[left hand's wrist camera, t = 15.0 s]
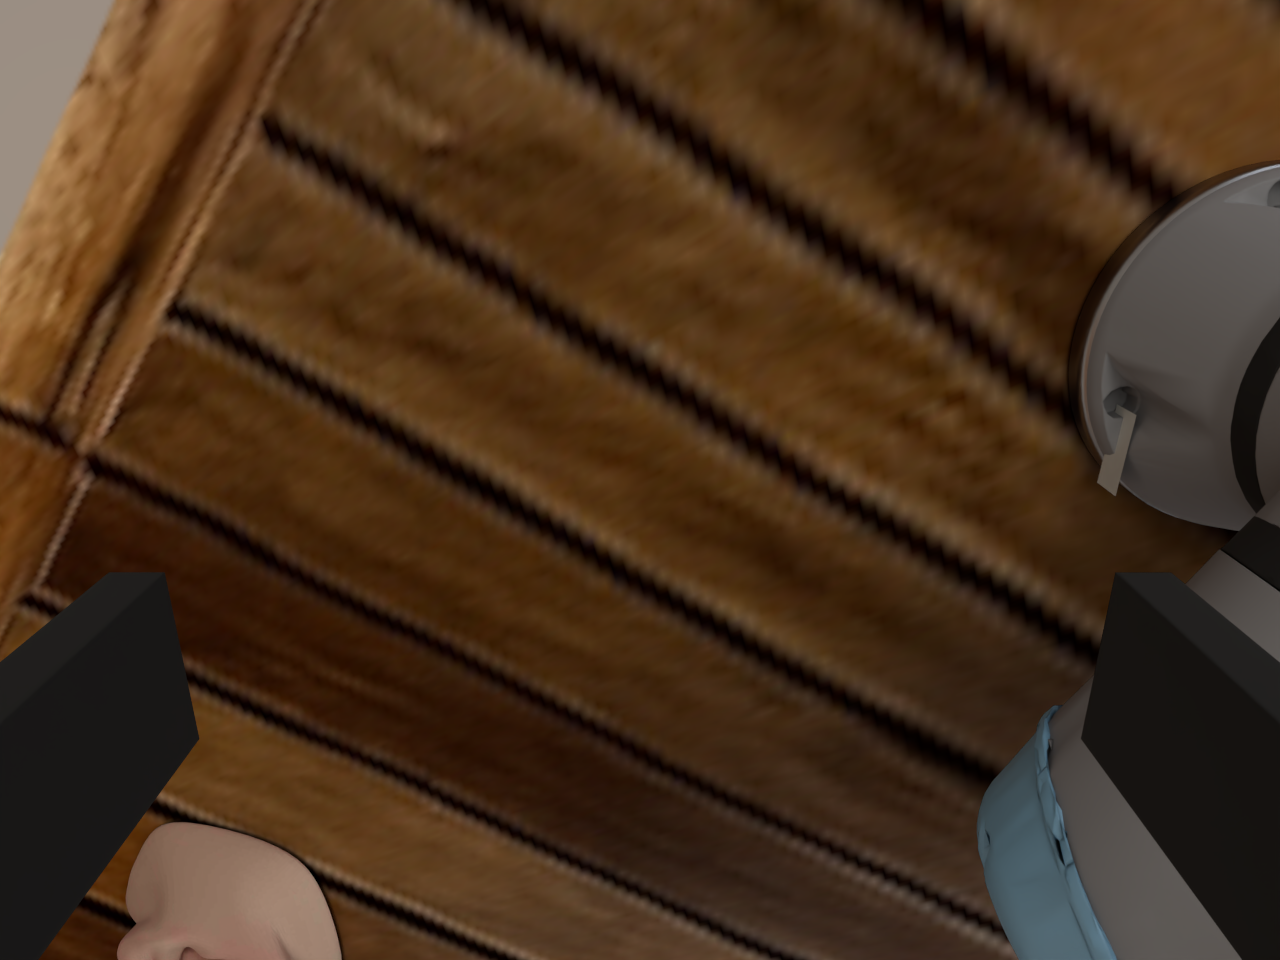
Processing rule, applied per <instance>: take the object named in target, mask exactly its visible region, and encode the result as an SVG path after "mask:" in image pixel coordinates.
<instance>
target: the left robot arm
mask: <svg viewBox="0 0 1280 960" xmlns="http://www.w3.org/2000/svg"><path fill="white" fill-rule="evenodd" d="M1068 377H1069V394H1070V401H1071V407H1072V411H1073V415H1074V419H1075V422H1076V425H1077V428H1078V430H1079V433H1080V435H1081V438H1082V439H1083V441H1084V443H1085V445H1086V447H1087V449H1088V450H1089V452H1090V453H1091V455H1092V456H1093V458H1094V459H1095V460H1096V462H1097V463H1098V464H1099V465H1100V466H1101V470H1100V474H1099V478H1098V482H1097V483H1098V484H1100V485H1101V486H1102V487H1104V488H1105V489H1106V490H1108V491H1109V492H1110V493H1112V494H1113V495H1114V496H1116V493H1117V489H1118V485H1119V484H1120V485H1121V486H1123V487H1124V488H1125V489H1127V490H1128V491H1130V492H1131V493H1132V494H1134V495H1135V496H1136V497H1138V498H1139V499H1141V500H1142V501H1144V502H1145V503H1147V504H1148V505H1150V506H1152V507H1154V508H1156V509H1158V510H1160V511H1161V512H1164V513H1166V514H1169V515H1171V516H1174V517H1177V518H1180V519H1184V520H1187V521H1190V522H1194V523H1198V524H1201V525H1207V526H1212V527H1218V528H1224V529H1230V530H1236V531H1239V532H1238V533H1237V534H1236V535H1235V536H1234V537H1233V538H1232V539H1231V540H1230V541H1229V542H1228V543H1227V544H1226V545H1225V546H1224V547H1223V548H1221V550H1218V551H1217V552H1216V553H1215V554H1214V555H1213V556H1212V557H1211V558H1210V559H1209V560H1208V561H1207V562H1206V563H1205V564H1204V565H1203V566H1202V568H1201V569H1200V570H1199V571H1198V572H1197V573H1196V574H1195V575H1194V576H1193V577H1192V578H1191V579H1190V580H1189V581H1188V582H1187V583H1186V584H1184V583H1183V582H1182V581H1181V580H1179V579H1178V578H1177V577H1176V576H1175V575H1173V574H1172V573H1115V577H1114V582H1113V587H1112V592H1111V596H1110V601H1109V606H1108V611H1107V616H1106V620H1105V625H1104V630H1103V635H1102V639H1101V644H1100V649H1099V654H1098V659H1097V663H1096V668H1095V673H1094V675H1093V676H1092V677H1091V678H1090V679H1089V680H1088V681H1087V682H1086V683H1085V684H1084V685H1083V686H1082V687H1081V688H1080V689H1079V690H1078V691H1077V692H1076V693H1075V694H1074V695H1073V696H1072V697H1071V698H1070V699H1069V700H1068V701H1067V702H1066V703H1065V704H1064V705H1059V706H1054V705H1053V706H1052V707H1051V708H1050V709H1049V710H1048V711H1047V712H1045V713H1044V715H1043V716H1042V717H1041V719H1040V721H1039V723H1038V725H1037V730H1036V733H1035V734H1034V735H1033V736H1032V737H1031V739H1030V740H1029V741H1028V742H1027V743H1026V744H1025V745H1024V746H1023V748H1022V749H1021V750H1020V751H1019V752H1018V753H1017V754H1016V755H1015V757H1014V758H1013V759H1012V760H1011V761H1010V762H1009V763H1008V764H1007V766H1006V767H1005V768H1004V769H1003V770H1002V771H1001V772H1000V773H999V775H998V776H997V777H996V778H995V779H994V780H993V781H992V783H991V784H990V786H989V787H988V789H987V790H986V792H985V794H984V797H983V799H982V802H981V806H980V809H979V814H978V820H977V837H978V850H979V854H980V858H981V861H982V864H983V867H984V876H985V883H986V886H987V889H988V892H989V895H990V897H991V900H992V903H993V905H994V908H995V910H996V913H997V915H998V918H999V920H1000V922H1001V925H1002V927H1003V929H1004V931H1005V933H1006V935H1007V938H1008V940H1009V942H1010V944H1011V945H1012V947H1013V949H1014V951H1015V953H1016V955H1017V957H1018V959H1019V960H1280V160H1275V161H1267V162H1260V163H1256V164H1251V165H1247V166H1243V167H1239V168H1236V169H1233V170H1230V171H1227V172H1224V173H1221V174H1219V175H1217V176H1214V177H1212V178H1209V179H1207V180H1205V181H1203V182H1201V183H1199V184H1197V185H1195V186H1193V187H1191V188H1190V189H1188V190H1186V191H1184V192H1183V193H1181V194H1180V195H1178V196H1177V197H1175V198H1173V199H1172V200H1170V201H1169V202H1168V203H1166V204H1165V205H1164V206H1162V207H1161V208H1160V209H1158V210H1157V211H1156V212H1154V213H1153V214H1152V215H1151V216H1150V217H1149V218H1147V219H1146V220H1145V221H1144V222H1143V223H1142V224H1141V225H1140V226H1138V227H1137V228H1136V230H1135V231H1134V232H1133V233H1132V234H1131V235H1130V236H1129V237H1128V238H1127V239H1126V240H1125V241H1124V242H1123V243H1122V245H1121V246H1120V247H1119V248H1118V250H1117V251H1116V252H1115V253H1114V254H1113V256H1112V257H1111V258H1110V260H1109V261H1108V263H1107V264H1106V266H1105V267H1104V269H1103V270H1102V272H1101V273H1100V275H1099V276H1098V278H1097V280H1096V282H1095V283H1094V285H1093V287H1092V289H1091V291H1090V293H1089V295H1088V297H1087V299H1086V301H1085V304H1084V306H1083V308H1082V311H1081V314H1080V317H1079V319H1078V322H1077V325H1076V329H1075V333H1074V337H1073V341H1072V346H1071V352H1070V359H1069V376H1068ZM1238 562H1239V563H1238ZM1245 567H1246V568H1245ZM1248 569H1249V570H1248ZM1252 572H1253V573H1252ZM198 740H199V735H198V730H197V726H196V721H195V716H194V711H193V706H192V702H191V697H190V692H189V687H188V683H187V678H186V673H185V668H184V663H183V659H182V654H181V649H180V644H179V639H178V635H177V630H176V625H175V620H174V616H173V611H172V606H171V601H170V596H169V592H168V587H167V582H166V577H165V573H108V574H107V575H105V576H104V577H103V578H102V579H101V580H99V581H98V582H97V583H96V584H95V585H93V586H92V587H91V588H90V589H89V590H87V591H86V592H85V593H84V594H82V595H81V596H80V597H79V598H78V599H76V600H75V601H74V602H73V603H72V604H70V605H69V606H68V607H67V608H65V609H64V610H63V611H62V612H61V613H59V614H58V615H57V616H56V617H55V618H53V619H52V620H51V621H50V622H49V623H47V624H46V625H45V626H44V627H42V628H41V629H40V630H39V631H38V632H36V633H35V634H34V635H33V636H32V637H30V638H29V639H28V640H27V641H25V642H24V643H23V644H22V645H21V646H19V647H18V648H17V649H16V650H15V651H13V652H12V653H11V654H10V655H8V656H7V657H6V658H5V659H4V660H2V661H1V662H0V960H38V959H39V958H40V956H41V955H42V954H43V952H44V951H45V950H46V948H47V947H48V945H49V944H50V943H51V941H52V940H53V939H54V937H55V936H56V934H57V933H58V932H59V930H60V929H61V928H62V926H63V925H64V924H65V922H66V921H67V919H68V918H69V917H70V915H71V914H72V913H73V911H74V910H75V908H76V907H77V906H78V904H79V903H80V902H81V900H82V899H83V897H84V896H85V895H86V893H87V892H88V891H89V889H90V888H91V886H92V885H93V884H94V882H95V881H96V880H97V878H98V877H99V876H100V874H101V873H102V871H103V870H104V869H105V867H106V866H107V865H108V863H109V862H110V860H111V859H112V858H113V856H114V855H115V854H116V852H117V851H118V849H119V848H120V847H121V845H122V844H123V843H124V841H125V840H126V839H127V837H128V836H129V834H130V833H131V832H132V830H133V829H134V828H135V826H136V825H137V823H138V822H139V821H140V819H141V818H142V817H143V815H144V814H145V812H146V811H147V810H148V808H149V807H150V806H151V804H152V803H153V802H154V800H155V799H156V797H157V796H158V795H159V793H160V792H161V791H162V789H163V788H164V786H165V785H166V784H167V782H168V781H169V780H170V778H171V777H172V775H173V774H174V773H175V771H176V770H177V769H178V767H179V766H180V764H181V763H182V762H183V760H184V759H185V758H186V756H187V755H188V754H189V752H190V751H191V749H192V748H193V747H194V745H195V744H196V743H197V741H198Z"/></svg>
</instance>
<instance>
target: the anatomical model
mask: <svg viewBox="0 0 1280 960" xmlns="http://www.w3.org/2000/svg"><path fill="white" fill-rule="evenodd" d="M126 905H127V908H128V911H129V913H130V915H131V917H132V918H133V920H134V921H135V922H136V923H137V924H136V925H135V926H134V927H133V928H132V929H131V930H130V931H129V932H128V933H127V934H126V936H125V937H124V938H123V939H122V940H121V942H120V944H119V947H118V950H117V957H118V960H342V956H341V951H340V946H339V941H338V937H337V933H336V929H335V926H334V923H333V920H332V916H331V913H330V910H329V908H328V905H327V903H326V900H325V898H324V895H323V893H322V891H321V889H320V887H319V885H318V883H317V882H316V880H315V879H314V877H313V876H312V874H311V873H310V871H309V870H308V869H307V868H306V867H305V866H304V865H303V864H302V863H301V862H300V861H299V860H298V859H296V858H295V857H293V856H292V855H291V854H289V853H288V852H286V851H284V850H282V849H280V848H278V847H276V846H274V845H272V844H270V843H267V842H265V841H263V840H260V839H257V838H254V837H251V836H248V835H245V834H241V833H238V832H234V831H231V830H227V829H222V828H218V827H213V826H209V825H202V824H195V823H188V822H172V823H168V824H164V825H161V826H160V827H158V828H156V829H155V830H154V831H153V832H152V833H151V834H150V835H149V837H148V838H147V840H146V841H145V843H144V844H143V846H142V848H141V851H140V853H139V855H138V857H137V859H136V861H135V863H134V865H133V868H132V870H131V874H130V877H129V882H128V887H127V892H126Z"/></svg>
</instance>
